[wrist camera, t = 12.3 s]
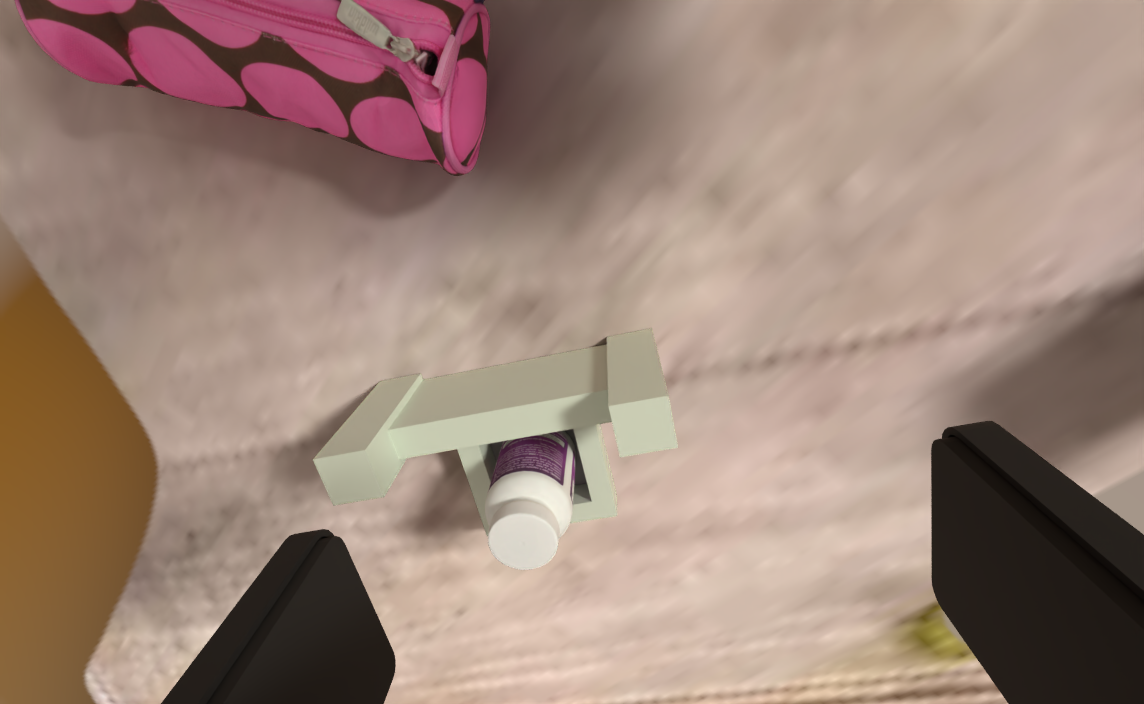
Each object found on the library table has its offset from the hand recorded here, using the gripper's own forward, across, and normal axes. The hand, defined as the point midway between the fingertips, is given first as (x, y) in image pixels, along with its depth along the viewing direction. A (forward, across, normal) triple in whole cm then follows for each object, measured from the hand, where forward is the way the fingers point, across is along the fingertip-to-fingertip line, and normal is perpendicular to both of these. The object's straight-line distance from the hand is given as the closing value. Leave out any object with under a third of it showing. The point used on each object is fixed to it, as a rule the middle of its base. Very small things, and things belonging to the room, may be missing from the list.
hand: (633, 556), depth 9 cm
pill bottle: (+28, +8, +14) cm, 32 cm away
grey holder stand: (+28, +8, +13) cm, 32 cm away
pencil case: (+29, +14, -14) cm, 35 cm away
